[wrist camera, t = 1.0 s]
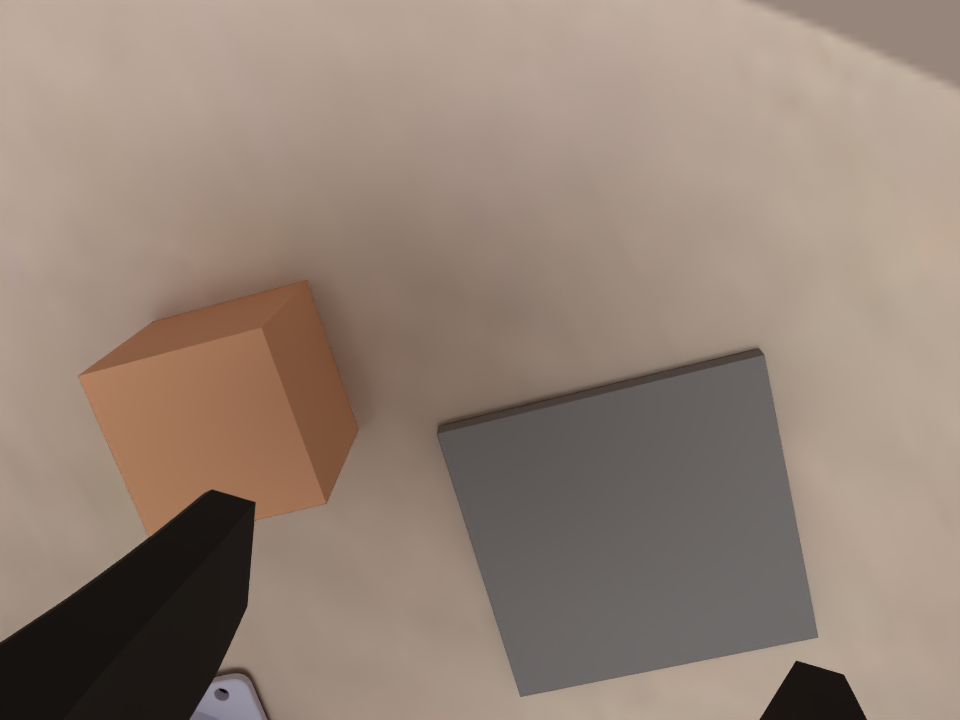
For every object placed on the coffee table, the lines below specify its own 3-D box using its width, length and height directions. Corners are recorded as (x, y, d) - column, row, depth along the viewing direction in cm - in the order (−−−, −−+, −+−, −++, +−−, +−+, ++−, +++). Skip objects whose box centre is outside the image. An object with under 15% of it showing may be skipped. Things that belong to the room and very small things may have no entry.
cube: (212, 464, 29) (152, 544, 24) (154, 320, 27) (77, 375, 23) (358, 428, 28) (326, 503, 24) (306, 279, 27) (261, 327, 22)
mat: (520, 685, 31) (520, 696, 30) (438, 426, 28) (436, 433, 27) (812, 626, 30) (818, 637, 29) (759, 348, 27) (764, 354, 26)
